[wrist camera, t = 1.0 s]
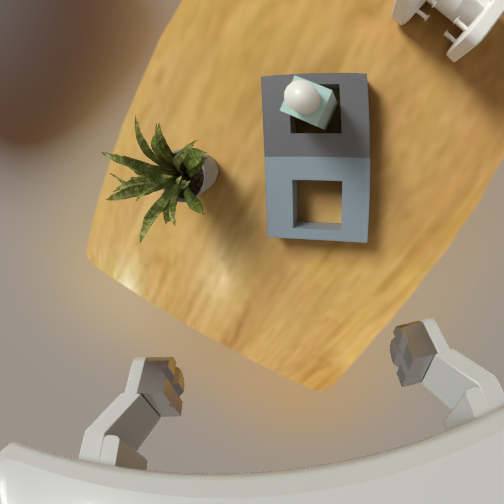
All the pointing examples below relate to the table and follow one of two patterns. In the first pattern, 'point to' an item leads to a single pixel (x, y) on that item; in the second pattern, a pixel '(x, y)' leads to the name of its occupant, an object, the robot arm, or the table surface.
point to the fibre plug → (309, 102)
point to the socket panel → (317, 159)
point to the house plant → (166, 177)
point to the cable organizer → (456, 19)
